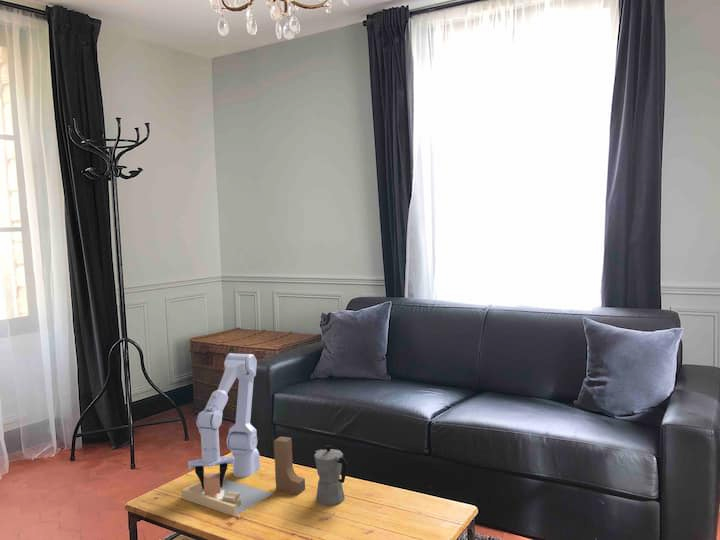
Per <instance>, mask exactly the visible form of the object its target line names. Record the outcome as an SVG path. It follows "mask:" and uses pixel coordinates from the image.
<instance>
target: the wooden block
mask: <svg viewBox="0 0 720 540" xmlns="http://www.w3.org/2000/svg"><path fill="white" fill-rule="evenodd" d="M273 448H274V449H273V451H274V468H275V469H274V472H275V473H274V474H275V476H274V477H275V491H276V492H282V493H286V494H287V493H288V494H294V495H300V494H302V493H303V492H304V491H305V490H306V479H305V477H302V476H299V475H298V474H297V473H296V472H295V469H294V466H293V443H292V437H289V436H281V435H280V436H278V437H277V438H276V439H274V440H273Z"/></svg>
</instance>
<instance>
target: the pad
mask: <svg viewBox="0 0 720 540" xmlns="http://www.w3.org/2000/svg"><path fill="white" fill-rule="evenodd" d="M203 494H204V492H203ZM207 496H210V497H213V498H216V499H219V500H222V499H223V496H224V490H220V493H218V494H209V495H207Z"/></svg>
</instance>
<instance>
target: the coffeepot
mask: <svg viewBox="0 0 720 540" xmlns="http://www.w3.org/2000/svg"><path fill="white" fill-rule="evenodd" d="M331 447H332V445H330V444H328V445H325V449H317V450H314V452H315V454H313V456H314V461H315V467H316V472H317V473H316V474H317V475H318V478H319V479H318V483H317V490H316V496H315V497H316V501H317V502H318V504H320V505H322V506H326V507H327V506H328V507H330V506H336V505H339V504H341V503H343V501H344V499H345V494H344V488H343V484H344V483H345V480H346V475H347V471H348V468H349V467H348V462H347V460H346V458H345V457H344V453H343V452H342V451H341V450H339V449H334V448H333V449H332V448H331Z"/></svg>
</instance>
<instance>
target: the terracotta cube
mask: <svg viewBox="0 0 720 540" xmlns="http://www.w3.org/2000/svg"><path fill="white" fill-rule="evenodd" d="M220 490H221V487H220V471H219V472H210V473H204V495H209V494H218V493H220Z"/></svg>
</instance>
